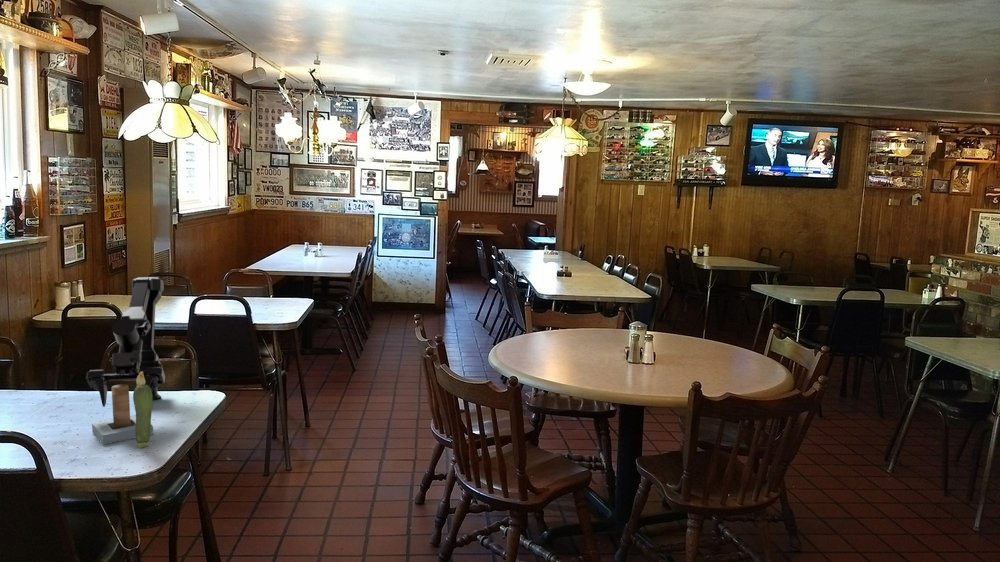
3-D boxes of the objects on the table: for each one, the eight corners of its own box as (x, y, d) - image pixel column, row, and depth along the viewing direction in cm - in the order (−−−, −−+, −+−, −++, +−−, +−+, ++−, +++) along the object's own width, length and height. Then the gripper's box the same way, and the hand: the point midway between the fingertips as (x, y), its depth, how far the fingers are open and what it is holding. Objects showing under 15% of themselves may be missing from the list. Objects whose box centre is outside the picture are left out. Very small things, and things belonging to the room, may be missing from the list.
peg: (111, 434, 190) (108, 387, 188) (125, 430, 193) (122, 383, 191) (120, 437, 188) (117, 389, 186) (134, 432, 191) (131, 385, 189)
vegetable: (136, 444, 182) (133, 368, 180) (155, 442, 184) (151, 367, 181) (134, 450, 178) (130, 373, 176) (153, 448, 180) (150, 371, 177)
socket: (92, 432, 191) (91, 423, 191) (140, 423, 199) (140, 414, 198) (102, 444, 182) (102, 435, 182) (153, 434, 190) (152, 425, 189)
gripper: (85, 341, 191) (76, 393, 182) (161, 338, 196) (155, 388, 187) (95, 362, 200) (86, 412, 191) (167, 359, 205) (162, 407, 196)
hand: (122, 405), depth 191 cm, fingers open, 9 cm apart
